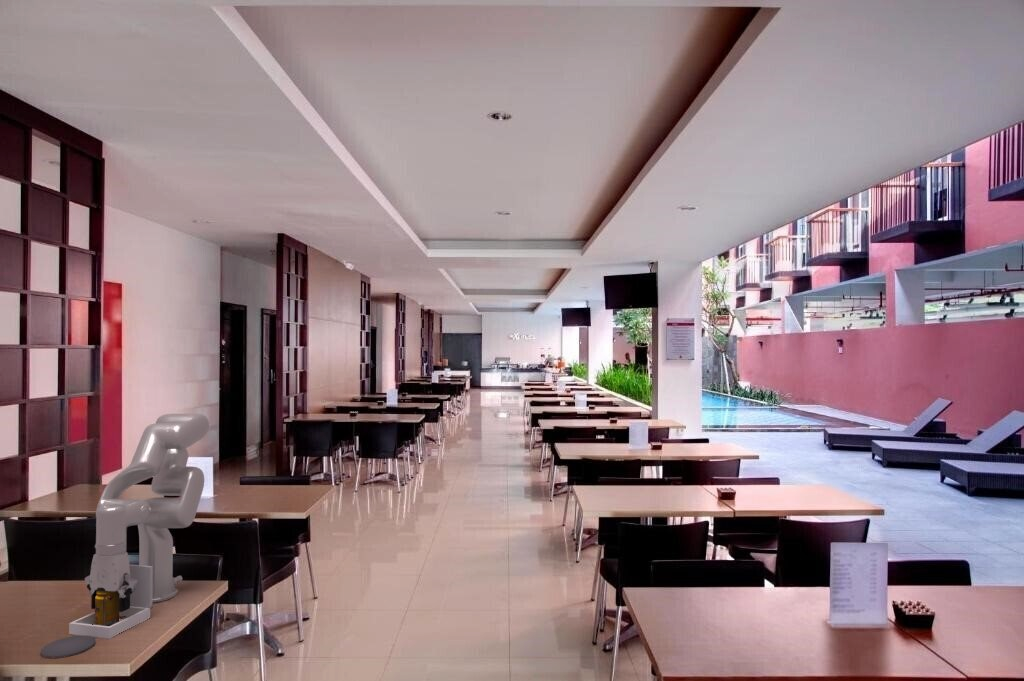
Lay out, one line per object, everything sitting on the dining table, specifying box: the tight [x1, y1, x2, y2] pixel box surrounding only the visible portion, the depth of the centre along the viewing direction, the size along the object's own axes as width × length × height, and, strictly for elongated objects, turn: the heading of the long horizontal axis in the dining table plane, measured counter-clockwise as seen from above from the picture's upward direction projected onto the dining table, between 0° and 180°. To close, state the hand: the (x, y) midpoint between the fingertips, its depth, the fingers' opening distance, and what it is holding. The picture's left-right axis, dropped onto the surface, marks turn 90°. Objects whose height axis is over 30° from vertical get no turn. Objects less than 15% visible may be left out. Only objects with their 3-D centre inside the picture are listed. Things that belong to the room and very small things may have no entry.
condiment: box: [94, 588, 120, 626], centre depth 191 cm, size 7×8×12 cm
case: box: [68, 563, 153, 640], centre depth 191 cm, size 16×14×15 cm
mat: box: [40, 635, 96, 658], centre depth 176 cm, size 12×12×1 cm
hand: (110, 608), depth 190 cm, fingers open, 9 cm apart
